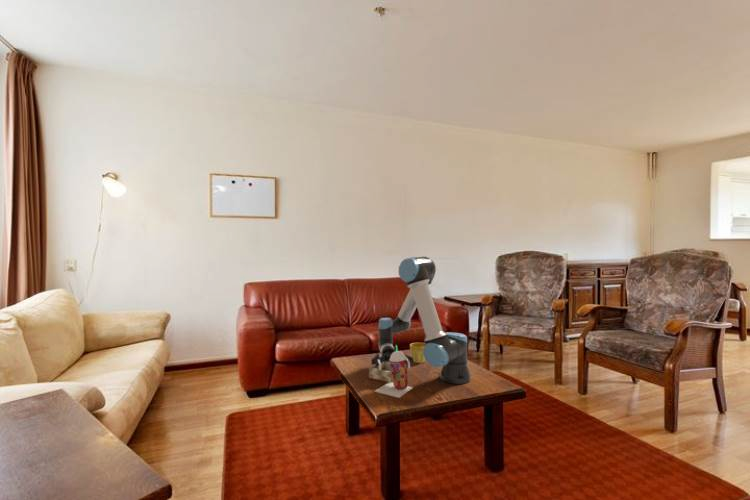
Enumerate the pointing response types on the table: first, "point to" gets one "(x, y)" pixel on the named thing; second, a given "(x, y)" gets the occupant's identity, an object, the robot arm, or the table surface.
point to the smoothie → (399, 369)
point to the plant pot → (417, 352)
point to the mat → (392, 390)
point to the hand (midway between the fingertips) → (394, 366)
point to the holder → (381, 372)
